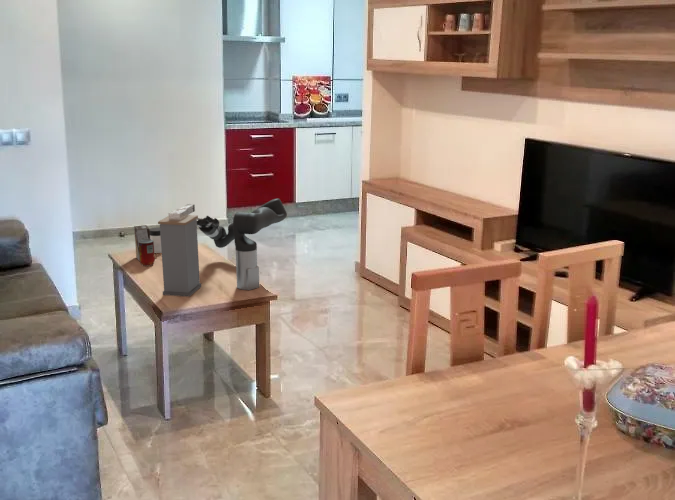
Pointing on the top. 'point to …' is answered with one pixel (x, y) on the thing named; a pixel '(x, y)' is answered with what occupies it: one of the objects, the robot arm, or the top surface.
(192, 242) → the stand
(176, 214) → the grey rectangular bar
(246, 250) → the robot arm
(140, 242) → the soda can
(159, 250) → the jar
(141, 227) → the coffee box
